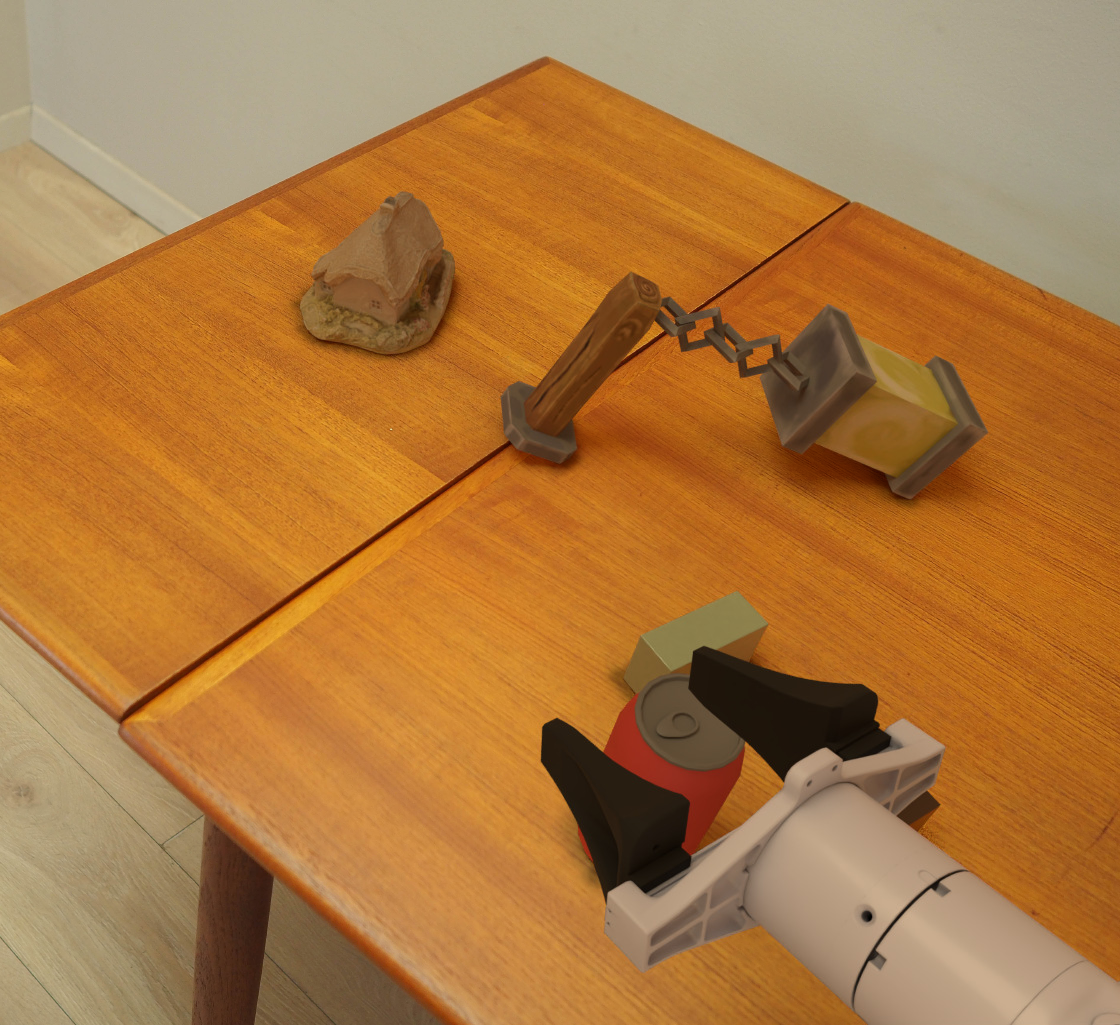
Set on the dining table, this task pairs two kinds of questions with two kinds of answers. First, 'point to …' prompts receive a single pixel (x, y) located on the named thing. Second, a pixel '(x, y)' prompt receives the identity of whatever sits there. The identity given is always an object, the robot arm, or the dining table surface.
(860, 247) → the dining table surface
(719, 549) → the dining table surface
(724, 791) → the beer can
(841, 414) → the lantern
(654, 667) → the ceramic block
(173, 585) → the dining table surface
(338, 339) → the ceramic model
